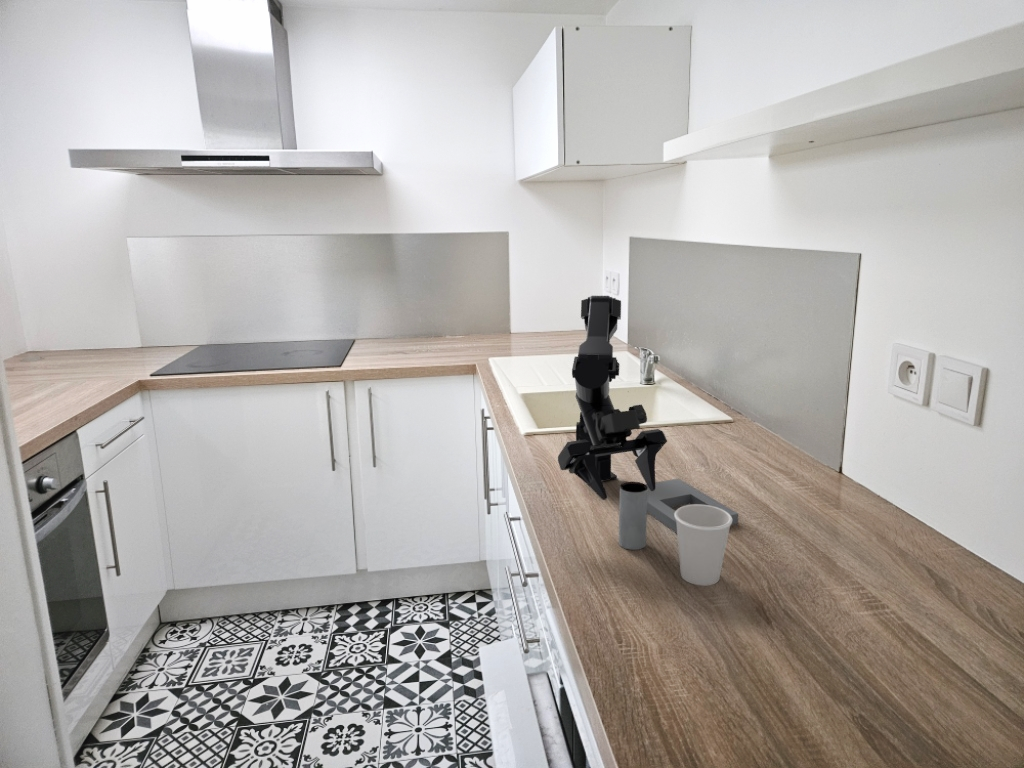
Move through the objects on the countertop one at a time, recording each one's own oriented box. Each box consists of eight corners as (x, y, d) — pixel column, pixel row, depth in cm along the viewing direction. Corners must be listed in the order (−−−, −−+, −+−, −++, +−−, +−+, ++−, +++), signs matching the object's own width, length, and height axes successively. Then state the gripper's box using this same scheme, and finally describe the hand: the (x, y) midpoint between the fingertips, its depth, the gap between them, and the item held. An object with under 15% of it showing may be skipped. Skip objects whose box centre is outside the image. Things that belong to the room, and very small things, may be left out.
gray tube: (627, 535, 117) (628, 479, 115) (650, 542, 115) (652, 485, 112) (613, 545, 114) (614, 487, 112) (637, 553, 111) (639, 494, 109)
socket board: (626, 497, 133) (626, 487, 132) (678, 487, 137) (678, 478, 137) (680, 536, 117) (681, 525, 116) (737, 523, 121) (738, 513, 120)
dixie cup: (691, 556, 110) (694, 499, 107) (739, 576, 104) (743, 515, 101) (660, 575, 104) (663, 515, 102) (708, 596, 98) (712, 533, 96)
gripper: (565, 395, 111) (596, 482, 103) (663, 384, 117) (699, 465, 110) (545, 428, 120) (573, 511, 112) (637, 416, 126) (669, 493, 119)
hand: (629, 494), depth 113 cm, fingers open, 9 cm apart
